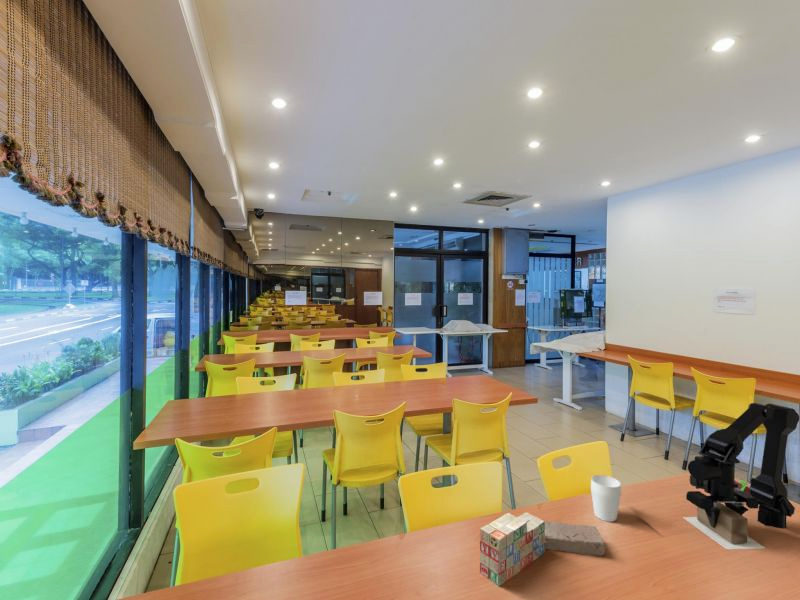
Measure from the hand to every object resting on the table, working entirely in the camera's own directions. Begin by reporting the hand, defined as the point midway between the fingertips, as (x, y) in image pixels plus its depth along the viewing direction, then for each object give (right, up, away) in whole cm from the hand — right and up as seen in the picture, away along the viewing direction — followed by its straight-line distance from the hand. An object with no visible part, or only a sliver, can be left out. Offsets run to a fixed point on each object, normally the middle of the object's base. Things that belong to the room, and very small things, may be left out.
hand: (721, 526), depth 118 cm
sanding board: (0, -3, 0) cm, 3 cm away
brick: (-49, -3, -5) cm, 49 cm away
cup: (-30, -3, +10) cm, 32 cm away
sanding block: (0, -1, 0) cm, 1 cm away
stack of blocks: (-68, -3, -13) cm, 69 cm away
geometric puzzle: (+27, -4, +24) cm, 36 cm away
